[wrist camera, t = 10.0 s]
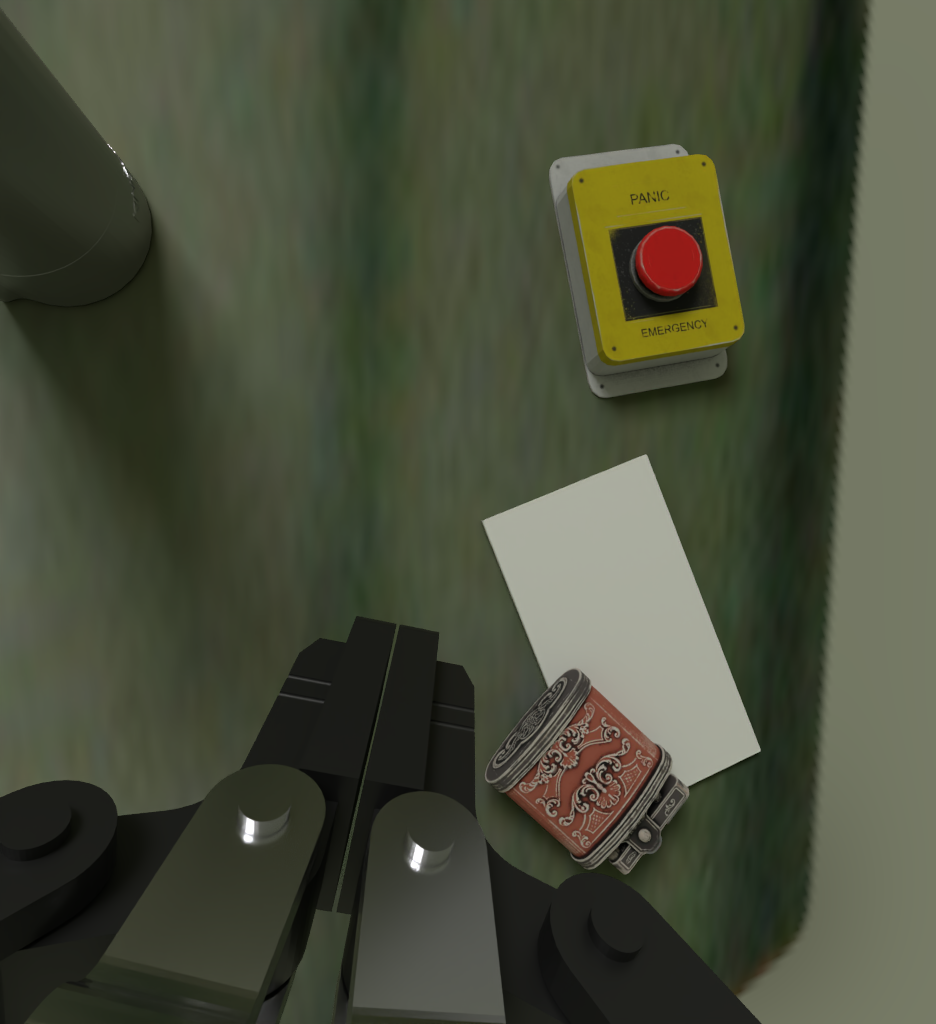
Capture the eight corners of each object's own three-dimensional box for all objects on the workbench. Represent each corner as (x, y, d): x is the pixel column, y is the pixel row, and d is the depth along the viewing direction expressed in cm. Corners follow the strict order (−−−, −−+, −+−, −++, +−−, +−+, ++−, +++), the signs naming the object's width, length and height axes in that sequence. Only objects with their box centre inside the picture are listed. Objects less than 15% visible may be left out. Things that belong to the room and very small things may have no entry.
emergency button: (615, 386, 31) (563, 116, 31) (588, 402, 35) (543, 166, 35) (769, 359, 32) (720, 98, 32) (724, 378, 36) (681, 148, 36)
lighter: (480, 768, 33) (600, 876, 34) (492, 792, 30) (625, 912, 30) (568, 662, 34) (682, 769, 35) (589, 675, 31) (714, 792, 32)
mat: (601, 822, 35) (604, 827, 34) (481, 521, 34) (482, 521, 33) (755, 747, 36) (760, 750, 35) (642, 455, 35) (646, 454, 35)
